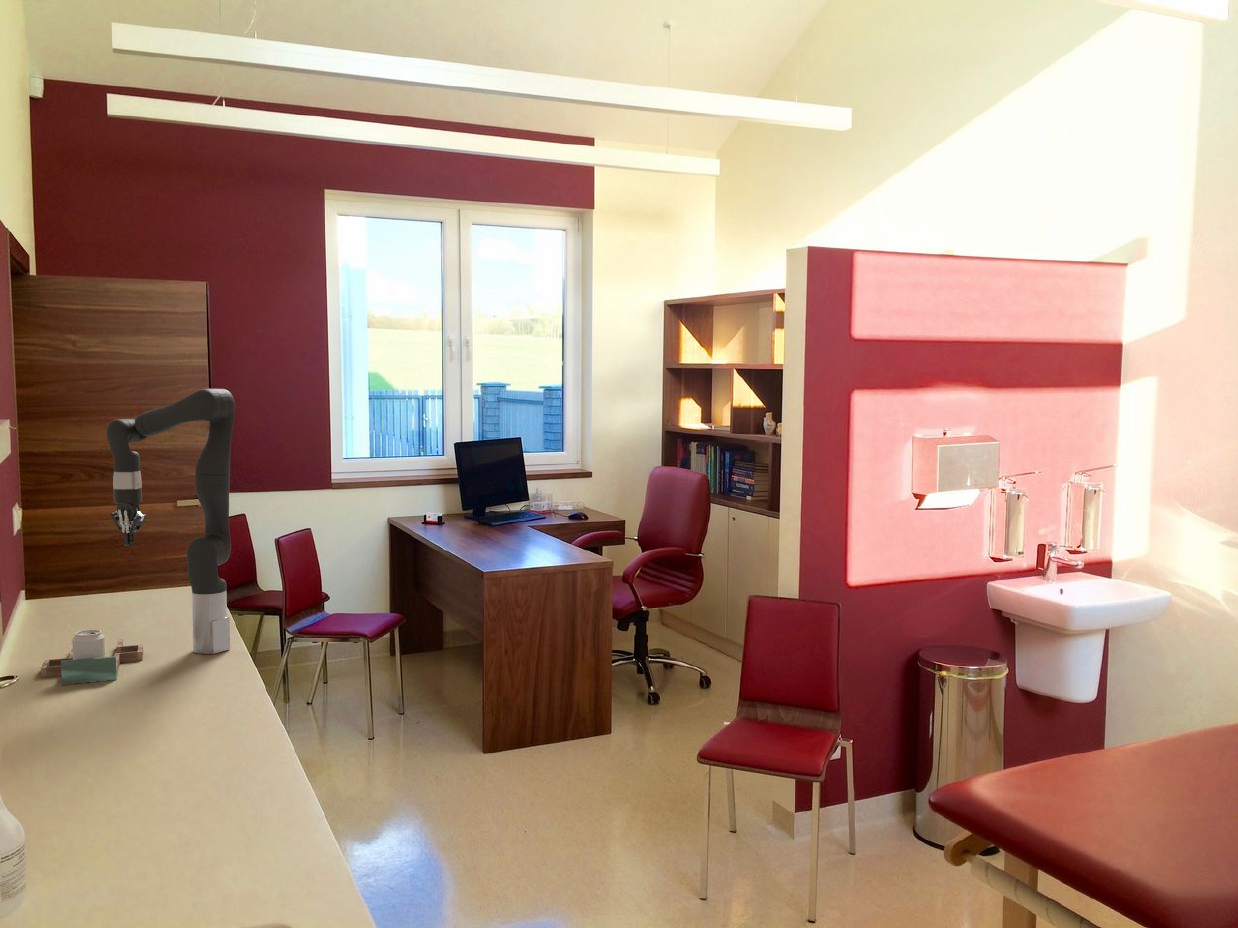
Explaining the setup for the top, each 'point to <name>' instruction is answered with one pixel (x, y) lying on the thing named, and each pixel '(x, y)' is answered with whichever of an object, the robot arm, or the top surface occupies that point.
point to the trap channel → (91, 665)
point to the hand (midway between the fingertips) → (129, 545)
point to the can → (88, 644)
